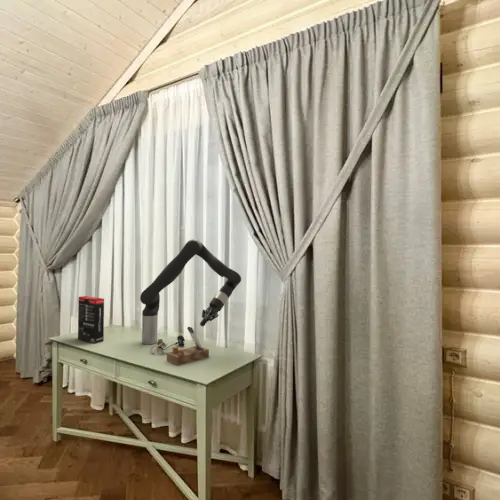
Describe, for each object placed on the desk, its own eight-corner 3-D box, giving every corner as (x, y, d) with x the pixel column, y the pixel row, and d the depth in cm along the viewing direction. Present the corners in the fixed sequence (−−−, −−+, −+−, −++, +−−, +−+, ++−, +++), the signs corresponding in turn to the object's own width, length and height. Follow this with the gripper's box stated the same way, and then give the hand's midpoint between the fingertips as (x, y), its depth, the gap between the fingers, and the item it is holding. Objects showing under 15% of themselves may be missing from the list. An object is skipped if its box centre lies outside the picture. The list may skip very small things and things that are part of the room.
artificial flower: (187, 349, 201) (189, 334, 198) (155, 362, 184) (156, 346, 181) (178, 342, 206) (180, 328, 204) (146, 354, 189) (147, 339, 187)
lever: (197, 348, 185) (198, 346, 186) (200, 349, 183) (202, 347, 184) (187, 328, 180) (188, 326, 181) (190, 329, 178) (191, 327, 179)
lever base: (197, 352, 190) (197, 341, 190) (208, 356, 183) (208, 344, 183) (166, 360, 175) (166, 347, 175) (177, 365, 168) (177, 352, 168)
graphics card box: (104, 341, 209) (105, 297, 209) (94, 344, 203) (95, 299, 203) (86, 337, 217) (87, 295, 217) (76, 339, 211) (77, 296, 211)
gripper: (208, 295, 197) (190, 319, 188) (223, 298, 187) (205, 323, 178) (215, 303, 200) (198, 327, 192) (229, 306, 191) (212, 331, 182)
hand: (201, 325), depth 185 cm, fingers closed
